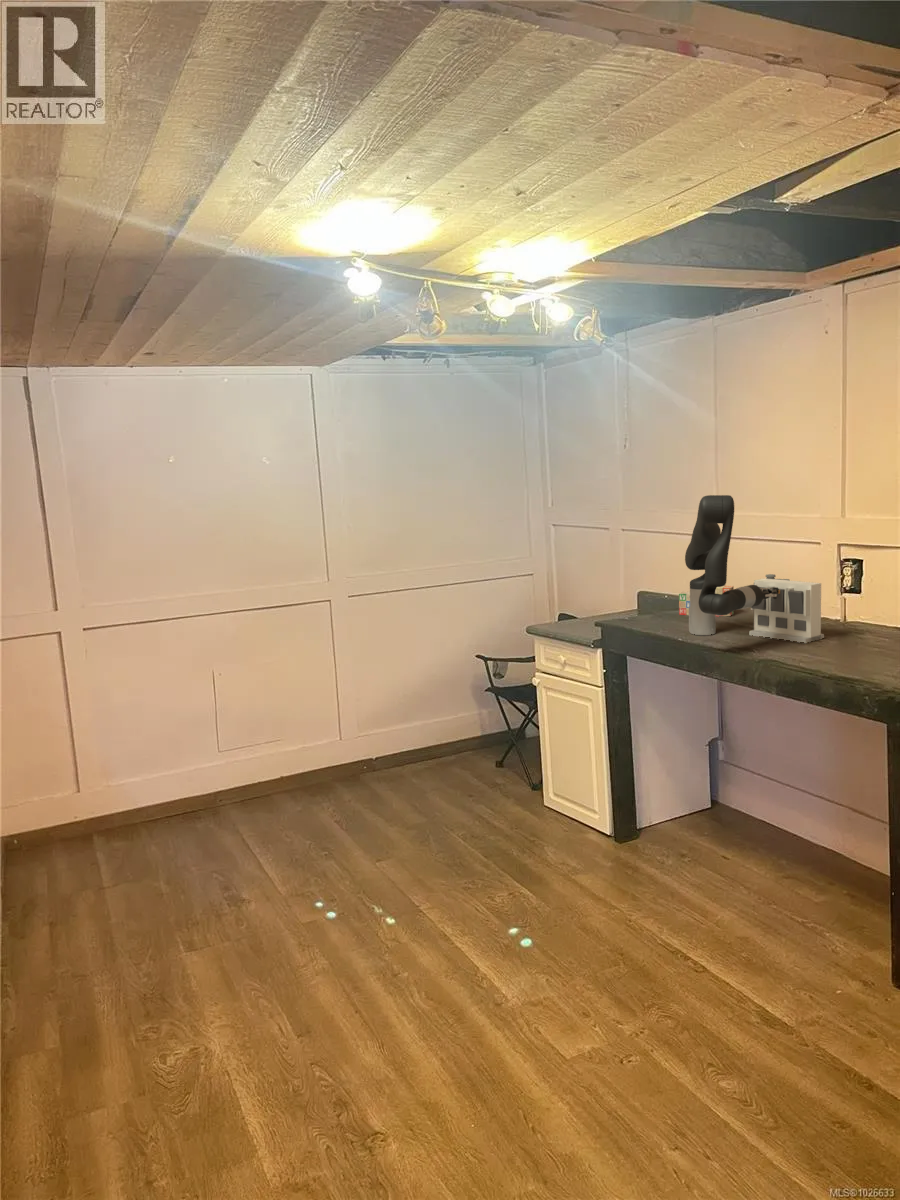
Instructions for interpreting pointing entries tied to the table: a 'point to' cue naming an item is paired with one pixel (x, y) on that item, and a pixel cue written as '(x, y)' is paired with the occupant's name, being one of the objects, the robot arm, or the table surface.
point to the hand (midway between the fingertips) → (776, 590)
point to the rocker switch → (761, 604)
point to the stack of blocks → (685, 600)
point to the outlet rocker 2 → (796, 601)
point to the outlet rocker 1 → (778, 602)
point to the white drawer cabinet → (787, 622)
